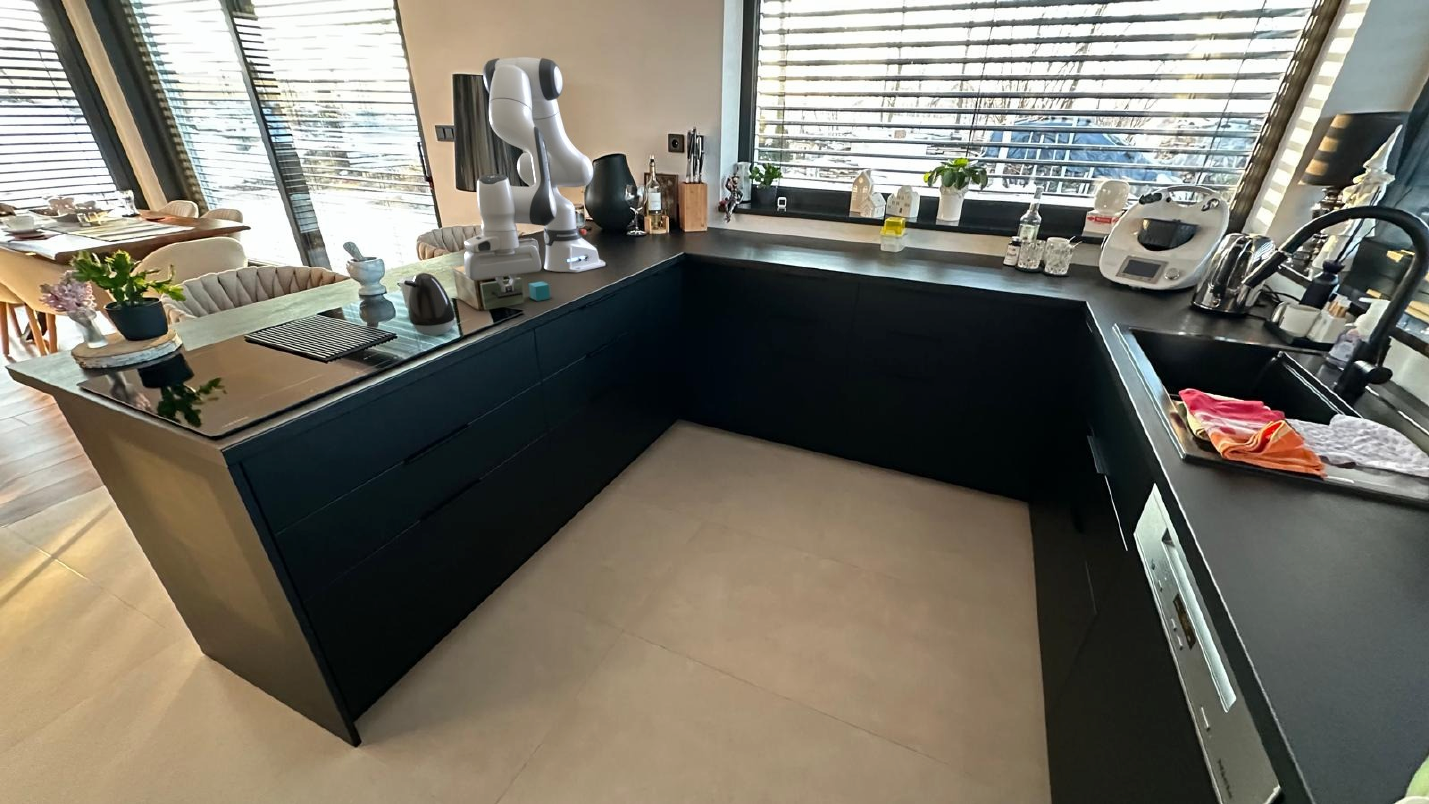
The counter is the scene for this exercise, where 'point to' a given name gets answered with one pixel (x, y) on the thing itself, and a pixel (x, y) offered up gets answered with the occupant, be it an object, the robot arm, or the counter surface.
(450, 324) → the pump dispenser
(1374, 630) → the counter surface
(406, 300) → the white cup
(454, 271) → the wooden drawer box
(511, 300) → the green drawer
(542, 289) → the teal cube
